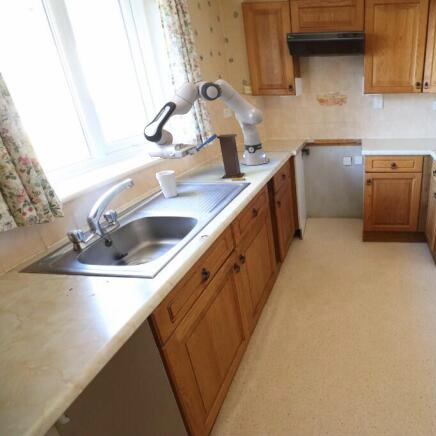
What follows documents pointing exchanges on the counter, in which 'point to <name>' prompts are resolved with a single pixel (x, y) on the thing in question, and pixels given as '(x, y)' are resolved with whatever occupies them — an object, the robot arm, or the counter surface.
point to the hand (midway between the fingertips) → (198, 150)
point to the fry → (237, 179)
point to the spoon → (206, 142)
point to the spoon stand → (230, 156)
